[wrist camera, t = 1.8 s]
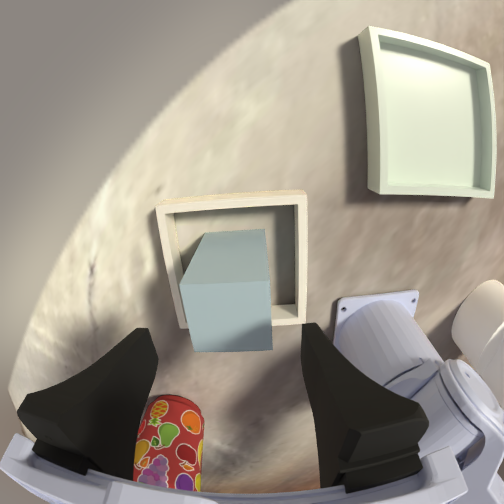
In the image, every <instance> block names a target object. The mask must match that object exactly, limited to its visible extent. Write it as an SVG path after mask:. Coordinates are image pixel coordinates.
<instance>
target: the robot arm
mask: <svg viewBox="0 0 504 504" xmlns="http://www.w3.org/2000/svg"><path fill="white" fill-rule="evenodd" d="M418 297H419V292H418V291H417V290H407V291H399V292H391V293H382V294H373V295H364V296H354V297H344V298H341V299H340V300H339V301H338V304H337V314H336V323H335V332H334V340H333V344H332V342H331V341H330V340H329V339H328V338H327V336H326V335H325V334H324V333H323V331H322V330H321V328H320V327H319V326H318V324H316V323H305V324H302V340H301V363H302V371H303V377H304V381H305V385H306V389H307V393H308V396H309V400H310V404H311V408H312V412H313V417H314V423H315V431H316V439H317V448H318V459H319V471H320V487H321V489H314V490H306V491H297V492H285V493H268V494H225V493H208V492H197V491H187V490H179V489H172V488H166V487H160V486H154V485H149V484H144V483H139V482H135V481H133V472H134V458H135V448H136V442H137V435H138V430H139V425H140V420H141V416H142V413H143V410H144V407H145V404H146V401H147V398H148V396H149V393H150V390H151V387H152V384H153V382H154V379H155V375H156V371H157V366H158V360H159V359H158V356H157V353H156V350H155V347H154V344H153V341H152V338H151V335H150V332H149V329H148V328H136V329H135V330H134V331H132V332H131V333H130V334H129V335H128V336H127V337H125V338H124V339H123V340H122V341H121V342H120V343H118V344H117V345H116V346H115V347H114V348H113V349H112V350H110V351H109V352H108V353H107V354H105V355H104V356H103V357H102V358H100V359H99V360H98V361H96V362H95V363H94V364H92V365H91V366H90V367H88V368H87V369H85V370H83V371H82V372H80V373H79V374H77V375H75V376H73V377H71V378H69V379H67V380H66V381H64V382H62V383H59V384H57V385H55V386H52V387H50V388H47V389H44V390H41V391H37V392H34V393H30V394H27V396H26V397H25V399H24V400H23V402H22V404H21V405H20V407H19V409H18V410H17V414H18V417H19V419H20V420H21V421H22V423H23V424H24V425H25V426H26V427H27V429H28V430H29V431H30V432H31V433H32V434H33V435H34V436H35V437H36V438H37V440H36V442H35V443H34V442H33V441H31V440H30V439H28V438H26V437H24V436H22V435H20V434H18V433H15V435H14V437H13V438H12V440H11V442H10V444H9V446H8V448H7V450H6V452H5V454H4V456H3V458H2V460H1V462H0V469H1V470H2V471H4V472H5V473H6V474H7V475H8V476H10V477H11V478H12V479H13V480H15V481H16V482H17V483H19V484H20V485H22V486H23V487H24V488H25V489H27V490H28V491H30V492H31V493H33V494H35V495H36V496H38V497H40V498H42V499H44V500H46V501H47V502H49V503H51V504H504V482H503V481H502V479H501V478H500V476H499V475H498V474H497V470H498V469H499V466H500V464H501V462H502V460H503V458H504V411H503V410H502V408H501V407H500V406H499V404H498V402H497V400H496V398H495V396H494V394H493V393H492V391H491V390H490V388H489V387H488V385H487V384H486V383H485V382H484V380H483V379H482V378H481V377H480V376H479V375H478V374H477V373H476V371H475V370H473V369H472V368H471V367H470V366H469V365H468V364H467V363H465V362H464V361H462V360H459V359H457V360H452V359H448V360H446V361H445V362H444V361H443V360H442V358H441V357H440V355H439V354H438V353H437V351H436V350H435V348H434V347H433V345H432V344H431V342H430V341H429V340H428V338H427V337H426V335H425V334H424V332H423V331H422V330H421V328H420V327H419V326H418V324H417V323H416V321H415V320H414V319H413V317H414V314H415V310H416V306H417V302H418ZM412 299H414V300H413V301H412ZM343 307H345V309H343V310H341V308H343Z"/></svg>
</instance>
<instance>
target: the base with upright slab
mask: <svg viewBox="0 0 504 504" xmlns="http://www.w3.org/2000/svg"><path fill="white" fill-rule="evenodd" d="M451 333H452V338H453V340H454V342H455V343H456V345H457V346H458V347H459V349H460V350H461V351H462V353H463V354H464V355H465V357H466V358H467V359H468V361H469V362H470V364H471V365H472V366H473V368H474V369H475V371H476V372H477V373H478V375H480V376H481V377H482V378H483V380H484V381H485V383H486V384H487V385H488V387H489V388H490V390H491V391H492V393H493V394H494V396H495V398H496V399H497V401H498V402H499V404H500V406H501V407H502V409H503V410H504V285H503V284H501V283H500V282H499V281H496V280H488V281H486V282H484V283H482V284H480V285H479V286H478V287H476V288H475V289H474V290H473V291H472V292H471V293H470V294H469V295H468V296H467V298H466V299H465V300H464V302H463V303H462V305H461V306H460V308H459V310H458V312H457V313H456V316H455V318H454V321H453V324H452V330H451Z"/></svg>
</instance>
